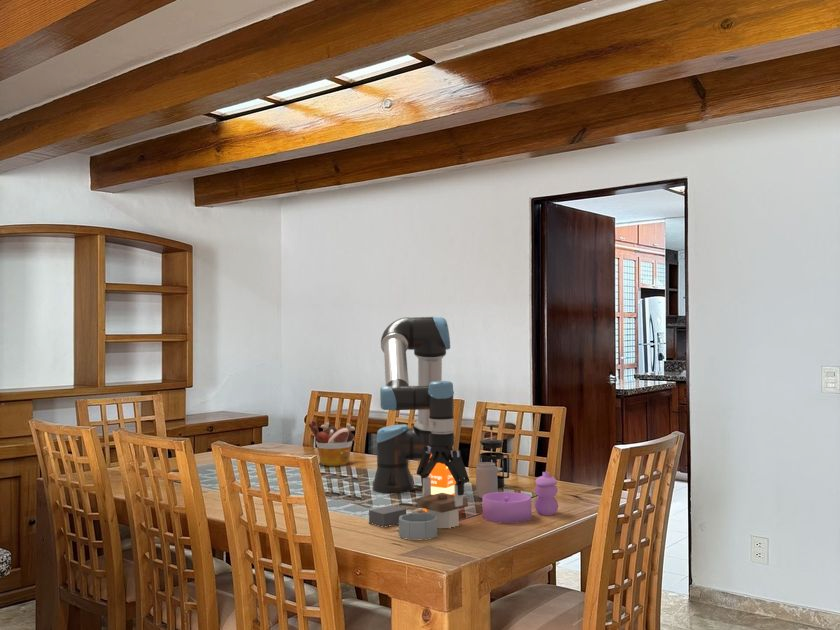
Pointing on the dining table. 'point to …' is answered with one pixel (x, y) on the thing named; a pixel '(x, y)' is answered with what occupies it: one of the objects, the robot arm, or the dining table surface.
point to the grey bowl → (418, 526)
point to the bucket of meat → (333, 443)
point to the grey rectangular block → (386, 515)
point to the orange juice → (441, 480)
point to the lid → (440, 502)
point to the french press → (495, 456)
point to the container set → (521, 502)
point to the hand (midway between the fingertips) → (442, 502)
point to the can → (486, 479)
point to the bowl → (446, 518)
